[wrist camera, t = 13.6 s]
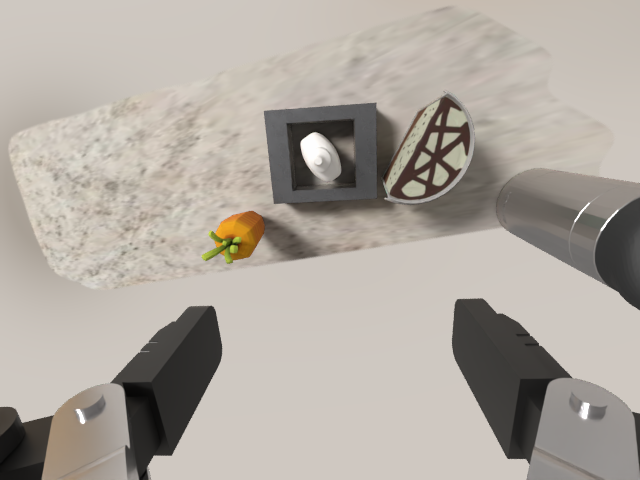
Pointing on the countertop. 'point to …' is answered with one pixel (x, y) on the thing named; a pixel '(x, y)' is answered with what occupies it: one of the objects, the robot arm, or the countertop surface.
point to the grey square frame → (284, 157)
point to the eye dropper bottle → (321, 157)
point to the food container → (431, 153)
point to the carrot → (237, 236)
